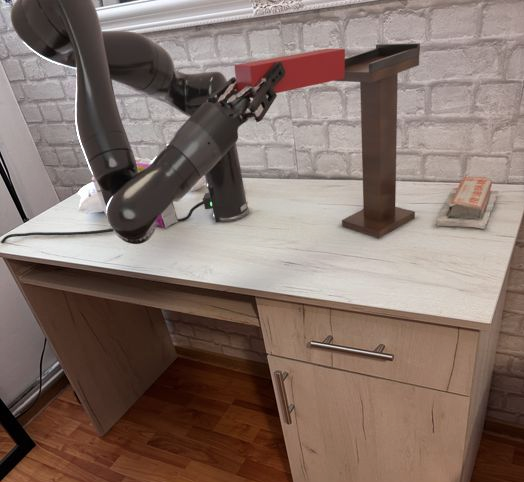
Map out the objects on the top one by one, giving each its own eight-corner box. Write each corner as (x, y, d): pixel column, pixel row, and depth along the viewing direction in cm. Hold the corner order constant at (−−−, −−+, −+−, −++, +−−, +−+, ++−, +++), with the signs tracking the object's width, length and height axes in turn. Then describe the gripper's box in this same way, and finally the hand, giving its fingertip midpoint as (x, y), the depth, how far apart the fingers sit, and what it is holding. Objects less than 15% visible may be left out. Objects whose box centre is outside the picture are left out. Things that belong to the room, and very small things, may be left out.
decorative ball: (172, 201, 148) (167, 160, 144) (205, 199, 151) (201, 159, 148) (178, 200, 140) (173, 157, 136) (212, 198, 143) (208, 156, 140)
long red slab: (253, 98, 75) (250, 66, 72) (237, 96, 78) (234, 65, 75) (344, 78, 84) (345, 49, 81) (327, 77, 87) (327, 48, 84)
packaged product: (454, 174, 112) (501, 175, 107) (452, 194, 115) (497, 195, 110) (436, 205, 100) (488, 208, 95) (435, 226, 103) (485, 230, 98)
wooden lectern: (375, 240, 102) (373, 59, 81) (338, 228, 110) (328, 59, 89) (414, 218, 108) (422, 42, 87) (377, 208, 115) (376, 44, 94)
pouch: (135, 163, 150) (71, 177, 147) (143, 182, 136) (72, 198, 132) (142, 188, 155) (80, 202, 152) (150, 209, 141) (82, 225, 137)
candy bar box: (140, 222, 132) (121, 162, 122) (155, 215, 135) (136, 155, 125) (164, 229, 125) (145, 166, 115) (179, 221, 128) (162, 159, 118)
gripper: (213, 128, 68) (290, 44, 69) (166, 117, 77) (235, 43, 79) (239, 168, 73) (310, 89, 75) (193, 153, 83) (257, 84, 84)
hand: (271, 66), depth 77 cm, fingers closed on long red slab, 4 cm apart
